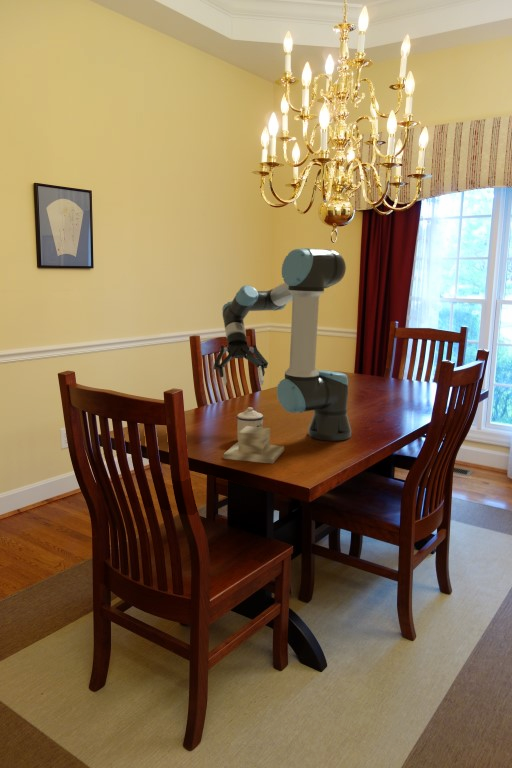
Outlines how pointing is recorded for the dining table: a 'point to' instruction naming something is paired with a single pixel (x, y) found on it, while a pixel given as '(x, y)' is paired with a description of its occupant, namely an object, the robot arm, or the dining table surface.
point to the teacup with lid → (249, 420)
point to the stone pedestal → (254, 446)
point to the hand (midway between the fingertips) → (243, 383)
